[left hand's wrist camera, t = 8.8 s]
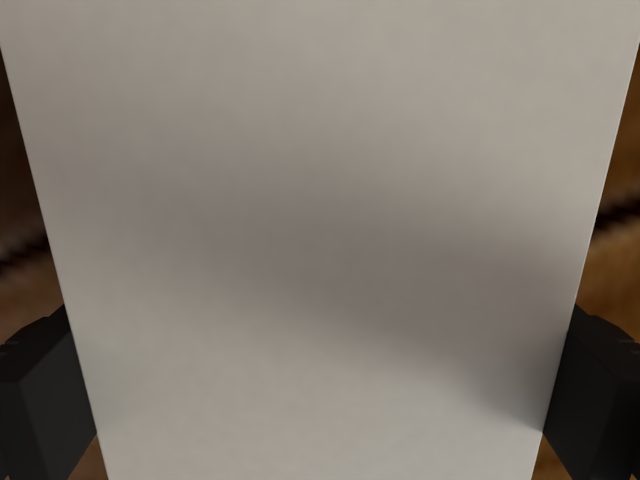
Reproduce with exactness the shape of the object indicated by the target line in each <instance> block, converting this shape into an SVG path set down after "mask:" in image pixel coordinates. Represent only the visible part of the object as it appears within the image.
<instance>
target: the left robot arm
mask: <svg viewBox="0 0 640 480" xmlns="http://www.w3.org/2000/svg"><path fill="white" fill-rule="evenodd" d="M96 433H97V432H96V428H95V424H94V420H93V416H92V412H91V408H90V404H89V400H88V396H87V392H86V388H85V384H84V380H83V376H82V372H81V368H80V364H79V360H78V356H77V352H76V348H75V344H74V340H73V336H72V332H71V328H70V324H69V320H68V316H67V312H66V308H65V304H63V305H62V306H61V307H60V308H58V309H57V310H56V311H55V312H54V313H53V314H51V315H50V316H49V317H42V318H40V319H38V320H37V321H35V322H33V323H31V324H29V325H27V326H25V327H23V328H21V329H20V330H19V331H18V332H16V333H15V334H14V335H13V336H11V337H10V338H9V339H8V340H7V341H5V344H2V345H1V346H0V480H4V479H5V478H6V477H7V475H9V478H10V480H67V479H68V477H69V476H70V474H71V473H72V471H73V469H74V468H75V466H76V465H77V463H78V462H79V460H80V458H81V457H82V455H83V454H84V452H85V451H86V449H87V447H88V446H89V444H90V443H91V441H92V440H93V438H94V436H95V435H96ZM543 434H544V436H545V437H546V439H547V440H548V442H549V444H550V445H551V447H552V448H553V450H554V451H555V453H556V455H557V456H558V458H559V459H560V461H561V462H562V464H563V465H564V467H565V469H566V470H567V472H568V473H569V475H570V476H571V478H572V480H629V479H630V476H631V474H633V475H634V476H635V478H636V479H637V480H640V344H639V343H635V340H634V339H633V338H632V337H630V336H629V335H628V334H627V333H625V332H624V331H623V330H622V329H621V328H619V327H618V326H616V325H614V324H612V323H610V322H608V321H606V320H604V319H602V318H600V317H598V316H596V315H588V314H587V313H586V312H584V311H583V310H582V309H581V308H580V307H579V306H578V305H576V304H574V308H573V312H572V316H571V320H570V324H569V328H568V332H567V336H566V340H565V344H564V348H563V352H562V356H561V360H560V364H559V368H558V372H557V376H556V380H555V384H554V388H553V392H552V396H551V400H550V404H549V409H548V413H547V417H546V421H545V425H544V429H543Z"/></svg>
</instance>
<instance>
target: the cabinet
mask: <svg viewBox="0 0 640 480" xmlns="http://www.w3.org/2000/svg"><path fill="white" fill-rule="evenodd" d="M639 42H640V0H0V48H1V52H2V56H3V60H4V64H5V68H6V72H7V76H8V80H9V84H10V88H11V92H12V96H13V100H14V104H15V108H16V112H17V116H18V120H19V124H20V128H21V132H22V136H23V140H24V144H25V148H26V152H27V156H28V160H29V164H30V168H31V172H32V176H33V180H34V184H35V188H36V192H37V196H38V200H39V204H40V208H41V212H42V216H43V220H44V224H45V228H46V232H47V236H48V240H49V244H50V248H51V252H52V256H53V260H54V264H55V268H56V272H57V276H58V280H59V284H60V288H61V292H62V296H63V300H64V304H65V308H66V312H67V316H68V320H69V324H70V328H71V332H72V336H73V340H74V344H75V348H76V352H77V356H78V360H79V364H80V368H81V372H82V376H83V380H84V384H85V388H86V392H87V396H88V400H89V404H90V408H91V412H92V416H93V420H94V424H95V428H96V432H97V436H98V440H99V444H100V448H101V452H102V456H103V460H104V464H105V468H106V472H107V476H108V480H531V477H532V473H533V469H534V465H535V461H536V457H537V453H538V449H539V445H540V441H541V437H542V433H543V429H544V425H545V421H546V417H547V413H548V409H549V404H550V400H551V396H552V392H553V388H554V384H555V380H556V376H557V372H558V368H559V364H560V360H561V356H562V352H563V348H564V344H565V340H566V336H567V332H568V328H569V324H570V320H571V316H572V312H573V308H574V304H575V300H576V296H577V292H578V288H579V284H580V280H581V276H582V272H583V268H584V263H585V259H586V255H587V251H588V247H589V243H590V239H591V235H592V231H593V227H594V223H595V219H596V215H597V211H598V207H599V203H600V199H601V195H602V191H603V187H604V183H605V179H606V175H607V171H608V167H609V163H610V159H611V155H612V151H613V147H614V143H615V139H616V135H617V131H618V127H619V122H620V118H621V114H622V110H623V106H624V102H625V98H626V94H627V90H628V86H629V82H630V78H631V74H632V70H633V66H634V62H635V58H636V54H637V50H638V46H639Z"/></svg>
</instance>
